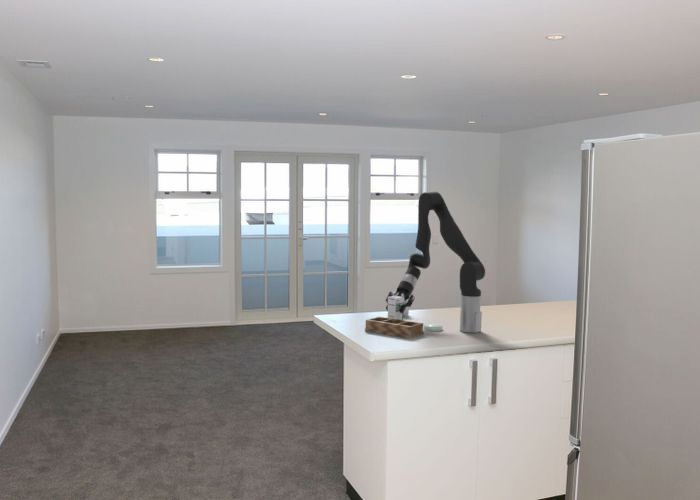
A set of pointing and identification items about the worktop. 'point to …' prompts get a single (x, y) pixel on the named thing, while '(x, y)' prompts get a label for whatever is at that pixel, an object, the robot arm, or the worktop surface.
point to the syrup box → (395, 307)
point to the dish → (433, 327)
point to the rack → (394, 327)
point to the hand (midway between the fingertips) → (394, 311)
